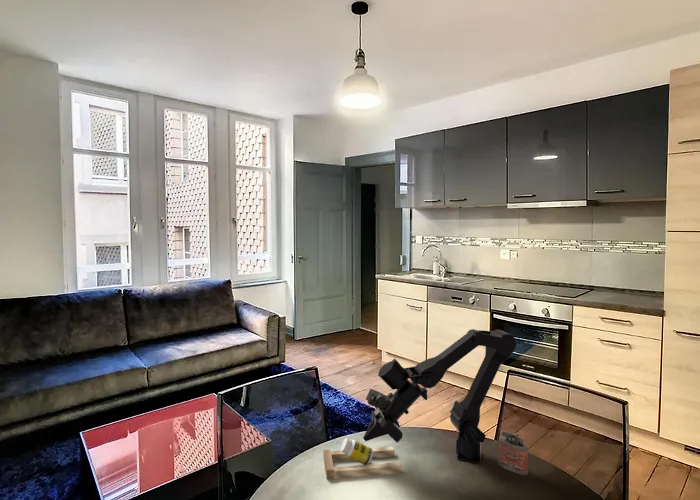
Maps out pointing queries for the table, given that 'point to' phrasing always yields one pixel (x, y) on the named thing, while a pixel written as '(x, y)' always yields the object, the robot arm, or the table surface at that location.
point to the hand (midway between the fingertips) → (364, 439)
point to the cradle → (360, 469)
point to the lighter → (513, 453)
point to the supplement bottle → (357, 451)
